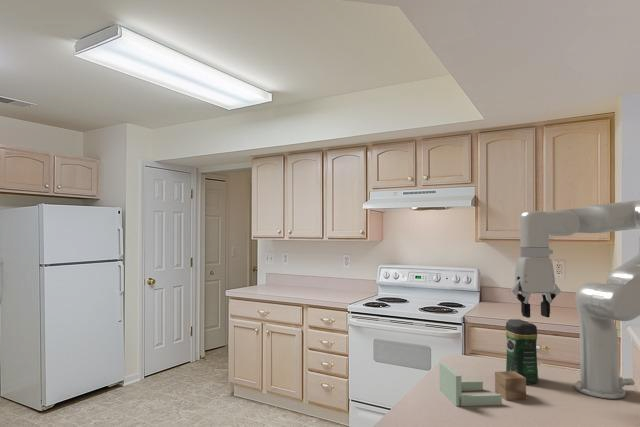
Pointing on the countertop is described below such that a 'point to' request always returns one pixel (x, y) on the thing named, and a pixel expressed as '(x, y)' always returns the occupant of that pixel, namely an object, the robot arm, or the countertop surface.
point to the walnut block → (510, 385)
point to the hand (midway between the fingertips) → (535, 316)
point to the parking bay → (464, 389)
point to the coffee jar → (522, 349)
